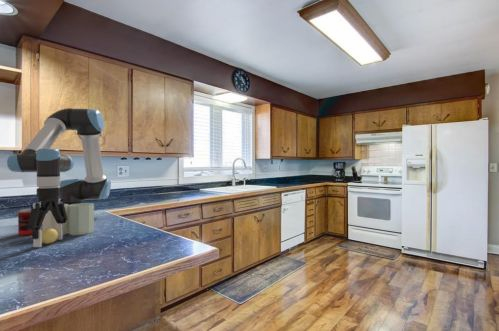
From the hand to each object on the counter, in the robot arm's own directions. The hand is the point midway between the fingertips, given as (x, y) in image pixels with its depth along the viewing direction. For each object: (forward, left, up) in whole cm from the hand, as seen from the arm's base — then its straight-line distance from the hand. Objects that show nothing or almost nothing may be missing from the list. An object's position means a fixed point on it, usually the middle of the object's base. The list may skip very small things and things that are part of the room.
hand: (48, 242), depth 106 cm
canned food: (-14, -21, 0) cm, 25 cm away
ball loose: (0, 0, +3) cm, 3 cm away
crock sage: (-17, +1, 0) cm, 17 cm away
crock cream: (-14, -9, 0) cm, 16 cm away
